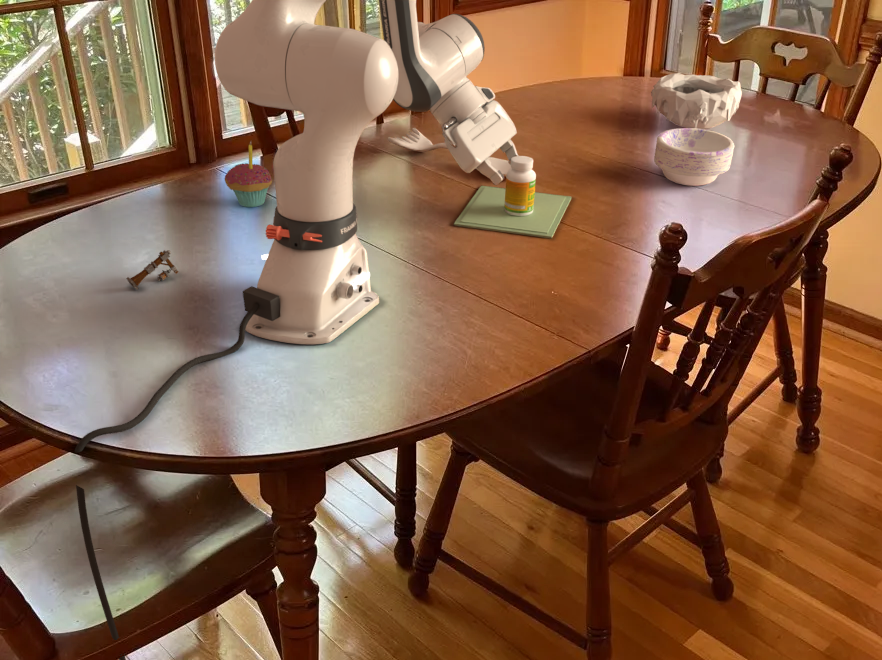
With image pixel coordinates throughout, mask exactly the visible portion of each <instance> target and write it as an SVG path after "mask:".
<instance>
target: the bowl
mask: <svg viewBox="0 0 882 660" xmlns="http://www.w3.org/2000/svg"><path fill="white" fill-rule="evenodd" d="M650 95H651V109H650V111H652V109H653V108H654V107H656V109H657V111H656V112H657V114H659V113H660V114H661V115H662V116H663V117H665V118H666V120H668V122H669V123H670V122H671V123H673V124H674V125H676V126H679V127H680V128H696V129H704V130H710V129H712V128H715V127H717V126H720V125H721V124H723V123H725V122H729V121H730V120H731V118H732V117H733V115H735V116H736V114H737V111H738V109H739V107H740V104H741V103H740V102H741V99H742V95H743V92H742V88H741V82H740V81H737V80H736V81H733V80H732V79H730V78H725V79H724V78H719V77H717V76H714V75H709V74H708V75H707V74H706V75H701V74H698V75H697V74H683V73H682V72H674V73H670V74H667V75H664V76H661V77H660V78H659V80H657V82H656V83H655V84H654V85H653V88H652V90H651V91H650Z"/></svg>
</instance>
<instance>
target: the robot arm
mask: <svg viewBox="0 0 882 660" xmlns="http://www.w3.org/2000/svg"><path fill="white" fill-rule="evenodd" d="M326 1H327V0H251V1H250V3H249V4H248V6H247V7H246V8H245V9H244V11H243V12H242V13H241V14H240V15H238V17H236V18H235V19H234V20H233V21H231V22H229V24H226V26H225V27H224V28H223V30H222V31H221V33H220V35H219V36H218V38H217V41H216V45H215V50H214V66H215V71H216V74H217V77H218V79H219V81H220V83H221V85H222V87H223V88H224V89H225V91H226V92H227V93H228V94H230V95H231V96H234V97H236V98H239V99H241V100H244V101H245V102H249V103H251V104H254V105H256V106H259V107H267V108H273V109H274V108H275V109H281V110H289V111H296V112H300V113H302V114H303V119H304V121H303V123H304V124H303V127H304V128H303V132H301V133H299V134H297V135H295V136H293V137H291V138H289V139H288V140H286V141H285V142H283V143H282V144H281V145H280V146H279V147H278V149H277V150H276V152H275V155H274V158H273V161H272V168H273V178H274V179H273V180H274V188H275V200H276V206H275V208H274V214H273V215H274V216H273V219H272V224H268V225H267V226H266V228H265V237H266V239H267V240H273V241H272V243H271V246H270V249H269V252H268V253H266V254H263V255H262V254H261V260H263V261H264V260H265V261H264V265H263V267H262V270H261V273H260V275H259V279H258V281H257V285H256V286H253V285H251V286H249V287H247V288H245V289H244V290H242V299H243V306H244V308H243V309H244V311H245V312H246V313H245V314H244V316H243V318H242V320H241V322H240V324H239V328H238V336H237V337H238V338H237V341H236V342H235V343H234V344H233V345H232V346H230V347H229V348H227V349H226V350H223V351H219V352H214V353H210V354H203V355H200V356H197V357H194V358H193V359H191V360H189V361H187V362H185V364H183V365H182V366H180V367H178V368H177V370H175V371H174V372H173V373H172V374H171V375H170V376H169V378H167V380H166V381H165V382H164V383H163V384H162V385H161V386H160V387H159V388H158V389H157V391H155V392H154V393H153V395H152V396H151V397H150V399H149V401H148V402H147V404H146V405H145V407H144V408H143V409H142V410H141V411H140V412H139V413H138V414H137V415H136V416H135V417H133V418H132V419H131V420H129V421H127V422H125V423H122V424H117V425H112V426H106V427H100V428H97V429H95V430H94V429H93V430H92V431H90V432H88V433H87V434H85V435H84V436H83V437H82V438H81V439H80V440H79V441H78V443H77V444H76V447H75V448H74V453H80V452H82V451H83V450H84V449H85V447H86V446H87V445H88V444H89V443H90V442H91V441H92V440H94V439H95V438H98V437H101V436H106V435H110V434H117V433H121V432H125V431H128V430H131V429H132V428H135V427H136V426H138V425H139V424H140V423H141V422H142V421H144V420H145V419H146V418H147V417H148V416H149V415H150V413H151V412H152V411H153V409H154V408H155V406H156V405H157V403H158V402H159V400H160V399H161V398H162V397H163V395H164V394H166V393H167V391H169V389H170V388H171V387H172V386H173V384H175V383H176V382H177V380H178V379H179V378H180V377H181V376H182V375H183V374H184V373H185V372H187V371H188V370H190V369H191V368H193V367H195V366H197V365H198V364H201V363H204V362H209V361H213V360H217V359H220V358H223V357H227V356H229V355H232V354H233V353H236V352H237V351H238V350H239V349H240V348H241V347H242V346H243V344H244V342H245V337H246V332H247V333H249V334H250V335H253V336H255V337H258V338H262V339H266V340H270V341H275V342H281V343H288V344H294V345H295V344H296V345H321V344H329V343H331V342H332V341H334V340H335V339H336V338H337V337H339V336H340V335H342V334H343V333H344V332H346V330H348V329H349V328H350V327H352V326H353V325H354V324H355V323H357V322H358V321H359V320H360V319H361V318H363V317H364V316H365V315H367V314H368V313H370V311H372V310H373V309H374V308H375V307H377V306H378V305H379V304H380V298H379V297H380V296H379V295H378V294H377V293H376V292H375V291H373V290H372V289H371V288H372V287H371V280H370V277H371V272H370V269H369V261H368V260H369V259H368V251H367V250H366V248H365V247H364V245H363V244H362V242H361V241H360V239H359V237H358V236H357V232H358V213H357V206H356V204H355V203H354V199H353V198H354V195H353V188H354V187H353V173H354V171H353V170H354V158H355V157H354V156H355V153H356V147H357V144H358V142H359V139H360V138H361V136H362V134H363V132H364V131H365V129H366V128H367V126H368V125H369V124H370V123H371V122H372V121H374V120H375V119H376V118H378V117H379V116H380V115H382V114H383V113H384V112H385V111H386V110H387V108H388V107H389V106H390V105H391V103H392V102H393V101H394V103H395V104H397V105H398V106H399V107H401V108H403V109H404V110H407V111H411V112H417V113H426V112H430V113H431V115H432V116H433V117H434V119H435V120H436V121H437V122H438V124H439V125H440V126H441V132H442V133H441V134H442V136H443V138H444V143H445V144H446V146H447V148H448V149H447V150H448V152H449V153H450V155H451V156H452V158H453V159H454V161H455V162H456V164H457V165H458V167H459V168H460V169H461V170H462V171H463V172H465V173H466V174H470V173H471V172H473V171H474V170H477V169H478V170H479V171H478V170H477V171H478V172H479V173H480V174H481V175H483V176H485V177H487V178H488V179H489V180H490V181H491V182H492V184H493V185H494V186H498V185H499V184H500V183H501V182H502V181H504V180H505V176H504V175H503V174H502V173H501V171H500V170H498V171H497V170H496V169H495V168H494V167H493V166H491V165H490V164H491V162H490V161H489V160H488V157H492V155H493V154H494V153H495V152H497V151H498V150H499V149H500V150H501V152H502V153H503V154H505V155H506V157H507V161H508V163H509V164H510V165H511V158H512V157H515V156H520V155H519V154H518V151H517V148H516V145H515V142H513V140H512V138H514V136H516V135H517V134H518V132H517V127H516V124H515V123H514V122H513V120H512V119H511V117H510V116H509V114H508V112H506V110H505V109H504V107H503V106H502V105H501V104H500V102H499V101H497V100H495V99H496V94H495V93H494V91H493V90H492V88H491V87H487V86H486V87H485V86H484V87H483V86H479V85H475V84H474V83H473V82H472V80H471V79H469V78H468V76H469V75H470V74H471V73H472V72H473V71H474V70H476V69H477V68H478V67H479V65H480V64H481V62H482V61H483V60H484V57H485V41H484V37H483V34H482V33H481V31H480V29H479V28H478V27H477V25H476V24H475V23H474V22H473V21H472V20H471V19H469V17H467V16H465V15H463V14H459V13H451V14H450V15H447V16H445V17H443V18H441V19H438V20H435V21H434V22H430V23H425V22H421V21H418V13H417V0H378V5H379V13H380V22H381V30H382V36H383V38H380V37H377V36H374V35H372V34H369V33H366V32H363V31H361V30H357V29H355V28H349V27H348V28H347V27H339V26H332V25H322V24H315V21H316V17H317V16H318V13H319V11H320V9H321V8H322V6H323V5H324V4H325V3H326ZM476 168H477V169H476ZM75 488H76V497H77V498H76V499H77V507H78V513H79V520H80V527H81V531H82V536H83V541H84V546H85V551H86V554H87V559H88V562H89V567H90V569H91V573H92V574H91V575H92V577H93V580H94V585H95V588H96V592H97V594H98V598H99V601H100V604H101V607H102V611H103V613H104V617H105V620H106V623H107V627H108V629H109V632H110V636H111V639H112V638H113V639H114V640H117V639H118V638H120V636H119V632H118V628H117V626H116V623H115V619H114V617H113V613H112V609H111V606H110V603H109V600H108V596H107V593H106V590H105V586H104V583H103V580H102V576H101V572H100V569H99V565H98V561H97V556H96V552H95V548H94V545H93V540H92V539H93V538H92V534H91V530H90V525H89V518H88V517H89V516H88V512H87V504H86V494H85V489H84V488H83V487H81V486H79V485H77V484H76V485H75ZM113 639H112V640H113ZM121 655H122V654H121ZM121 655H120V656H121ZM118 660H127V659H126V656H125V654H124V656H122V657H120V658H118Z"/></svg>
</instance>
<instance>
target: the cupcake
mask: <svg viewBox="0 0 882 660" xmlns="http://www.w3.org/2000/svg"><path fill="white" fill-rule="evenodd" d="M224 182H225V185H226V187H227V188H228V189H229V190H231V191H233V193H234V195H235V198H236V200H237V202H238V203H239V204H238V205H240V206H242V207H244V208H255V207H260V206H263V205H264V204H265V202H266V197H267V193H268V190H269V187H270V185H272V184H273V180H272V176H271V171H269V170H268V169H267V168H266V167H265V166H262V165H261V164H257V163H256V164H255V163H253V145H252V140H250V141H249V144H248V163H247V162H245V163H237V164H236V165H234V166H232V168H230V169H229V170H228V171H227V172H226V174H225V175H224Z"/></svg>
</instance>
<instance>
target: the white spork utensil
mask: <svg viewBox="0 0 882 660" xmlns="http://www.w3.org/2000/svg"><path fill="white" fill-rule="evenodd" d="M405 135H406V136H403V135H402V136H401V138H400V137H398V136H396V137H390V136H388V137H387V141H388V142H389V143H391V144H393V145H395V146H398V147H401V148H404V149H406V150H410V151H413V152H418V153H425V152H430V151H434V150H438V149H446V150H448V148H447V146H446V144H445V142H438V143H434V144H433V143H432V140H430V139H429V138H428V137H426V136H425V135H424V134H423V133H421V132H420V131H419V130H418V129H417V128H416V127H412V128H411V131H408V133H406V134H405ZM488 160H489V161H490V162H491V164H490V165H491V166H493V167H494V168H495V169H496V170H497V171H498V170H500V171H501V173H502V174H503V175H504V177H506V174H507V172H508V170H510V169H512V168H511V165H510V164H509V163H508V161H509V160H508V159H507V160H506V159H503V158H497V157H492V156H489V157H488ZM475 170H476V171H478V172H480V171H479V170H478V169H477V168H475Z"/></svg>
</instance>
